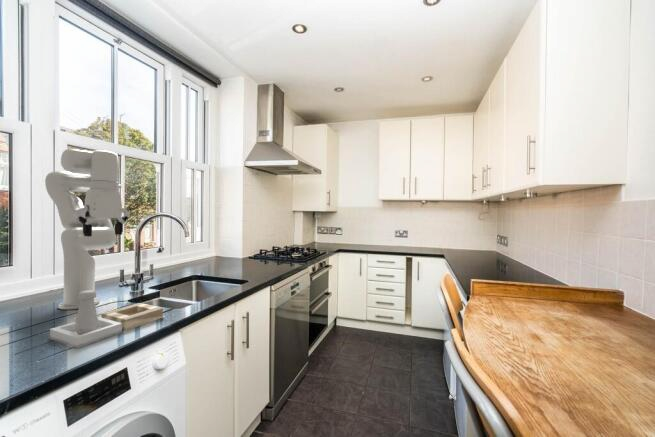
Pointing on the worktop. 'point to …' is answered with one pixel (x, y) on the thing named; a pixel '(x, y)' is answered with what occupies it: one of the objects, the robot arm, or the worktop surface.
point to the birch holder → (134, 315)
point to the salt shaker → (86, 313)
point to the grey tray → (71, 338)
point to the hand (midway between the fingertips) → (103, 235)
